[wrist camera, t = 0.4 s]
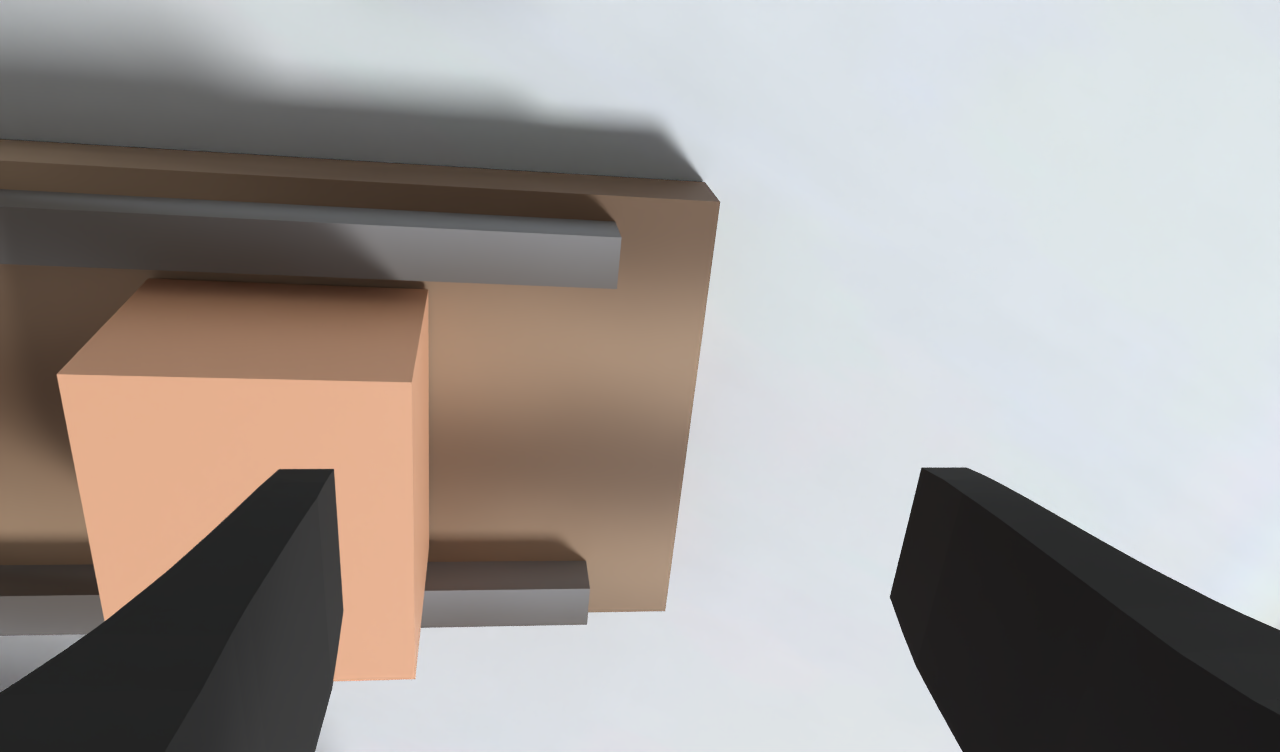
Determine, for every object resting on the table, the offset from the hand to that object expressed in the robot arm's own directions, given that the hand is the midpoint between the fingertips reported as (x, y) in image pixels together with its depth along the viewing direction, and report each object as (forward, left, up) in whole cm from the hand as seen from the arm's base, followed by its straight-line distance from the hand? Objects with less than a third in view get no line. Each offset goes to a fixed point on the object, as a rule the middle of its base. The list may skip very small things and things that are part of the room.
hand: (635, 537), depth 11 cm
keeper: (-3, +6, -8) cm, 10 cm away
